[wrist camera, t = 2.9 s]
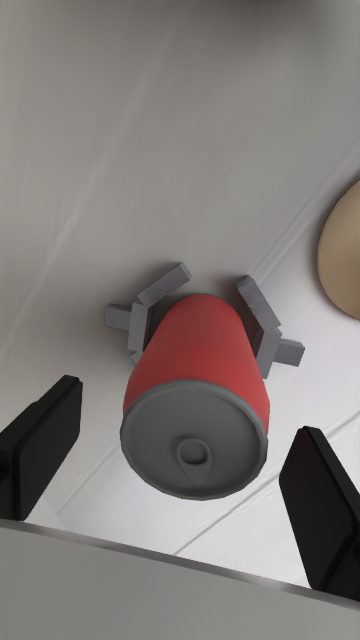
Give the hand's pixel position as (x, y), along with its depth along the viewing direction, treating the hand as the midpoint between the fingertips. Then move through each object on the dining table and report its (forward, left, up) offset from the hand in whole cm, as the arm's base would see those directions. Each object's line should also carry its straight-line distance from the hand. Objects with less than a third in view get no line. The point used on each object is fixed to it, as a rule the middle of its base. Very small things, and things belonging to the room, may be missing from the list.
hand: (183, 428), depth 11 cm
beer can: (0, 0, -11) cm, 11 cm away
